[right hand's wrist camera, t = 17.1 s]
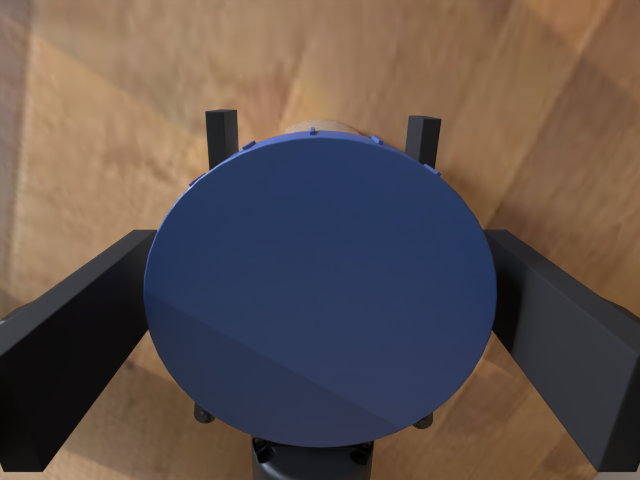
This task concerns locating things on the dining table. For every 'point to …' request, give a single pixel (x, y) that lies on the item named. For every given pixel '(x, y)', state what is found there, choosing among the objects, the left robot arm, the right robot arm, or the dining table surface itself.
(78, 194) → the dining table surface
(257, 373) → the lid
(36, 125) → the dining table surface
